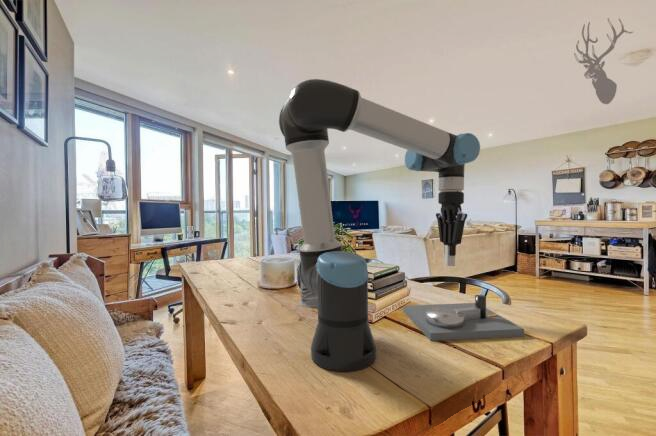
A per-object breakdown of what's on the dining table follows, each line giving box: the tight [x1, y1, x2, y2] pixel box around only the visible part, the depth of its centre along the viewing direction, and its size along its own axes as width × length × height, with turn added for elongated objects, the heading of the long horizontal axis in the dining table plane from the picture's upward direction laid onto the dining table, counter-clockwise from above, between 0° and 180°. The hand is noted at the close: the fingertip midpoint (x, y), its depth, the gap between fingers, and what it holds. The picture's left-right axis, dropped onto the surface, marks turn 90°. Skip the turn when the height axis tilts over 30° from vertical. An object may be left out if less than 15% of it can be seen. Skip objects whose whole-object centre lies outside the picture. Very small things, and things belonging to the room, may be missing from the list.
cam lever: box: [426, 294, 487, 329], centre depth 86 cm, size 18×10×6 cm, turn 105°
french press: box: [297, 280, 318, 308], centre depth 110 cm, size 10×12×25 cm
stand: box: [402, 302, 525, 342], centre depth 89 cm, size 25×22×2 cm
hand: (449, 265), depth 97 cm, fingers closed
